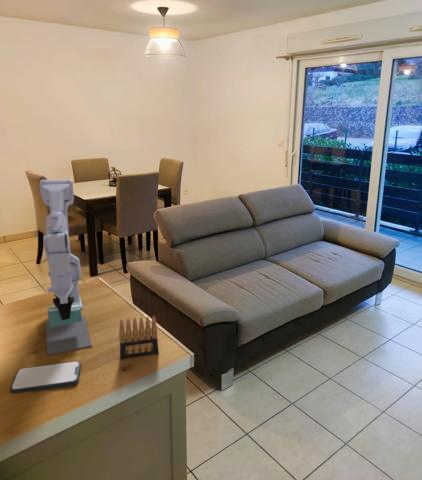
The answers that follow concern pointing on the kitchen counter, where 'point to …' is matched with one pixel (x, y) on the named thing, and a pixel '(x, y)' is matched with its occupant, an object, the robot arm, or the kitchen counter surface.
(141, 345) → the ammunition clip
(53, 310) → the card box
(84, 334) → the mat
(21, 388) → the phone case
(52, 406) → the kitchen counter surface
